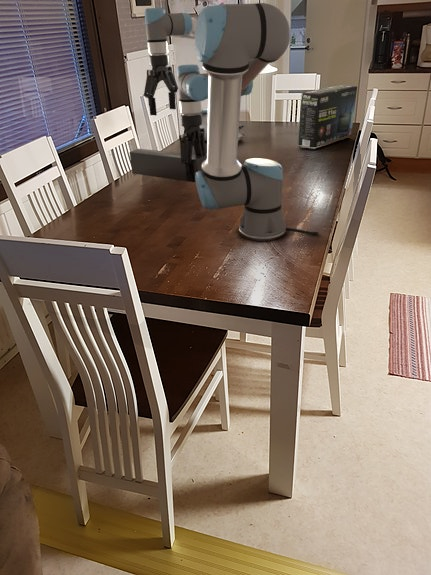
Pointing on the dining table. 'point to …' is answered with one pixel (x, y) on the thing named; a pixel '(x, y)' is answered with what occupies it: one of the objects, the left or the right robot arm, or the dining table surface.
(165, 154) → the bar
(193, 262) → the dining table surface
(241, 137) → the fossil
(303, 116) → the router box
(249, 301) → the dining table surface
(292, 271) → the dining table surface
